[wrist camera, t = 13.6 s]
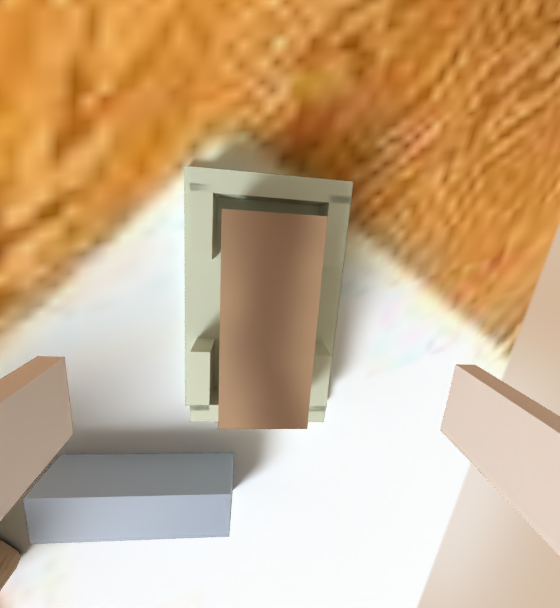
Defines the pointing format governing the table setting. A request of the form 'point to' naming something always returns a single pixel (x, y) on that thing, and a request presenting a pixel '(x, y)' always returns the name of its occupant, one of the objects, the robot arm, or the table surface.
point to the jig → (207, 269)
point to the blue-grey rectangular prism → (131, 497)
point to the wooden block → (7, 562)
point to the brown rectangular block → (268, 317)
